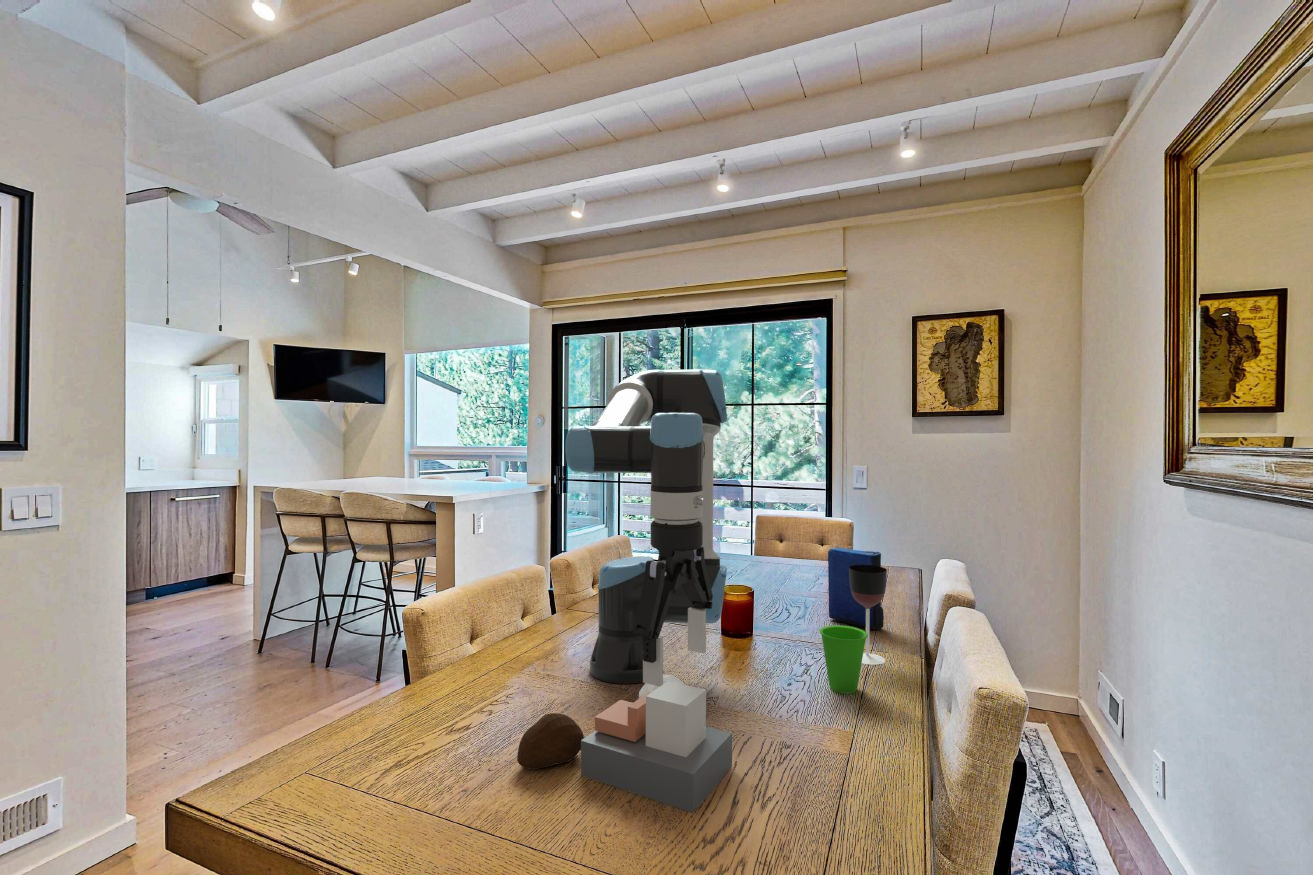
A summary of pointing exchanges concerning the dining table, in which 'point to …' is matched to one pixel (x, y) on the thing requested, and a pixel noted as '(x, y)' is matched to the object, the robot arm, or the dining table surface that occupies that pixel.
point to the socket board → (658, 767)
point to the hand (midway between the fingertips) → (676, 666)
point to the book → (840, 591)
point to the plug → (676, 718)
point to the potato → (550, 742)
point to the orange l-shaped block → (624, 719)
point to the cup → (843, 656)
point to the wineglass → (868, 597)
